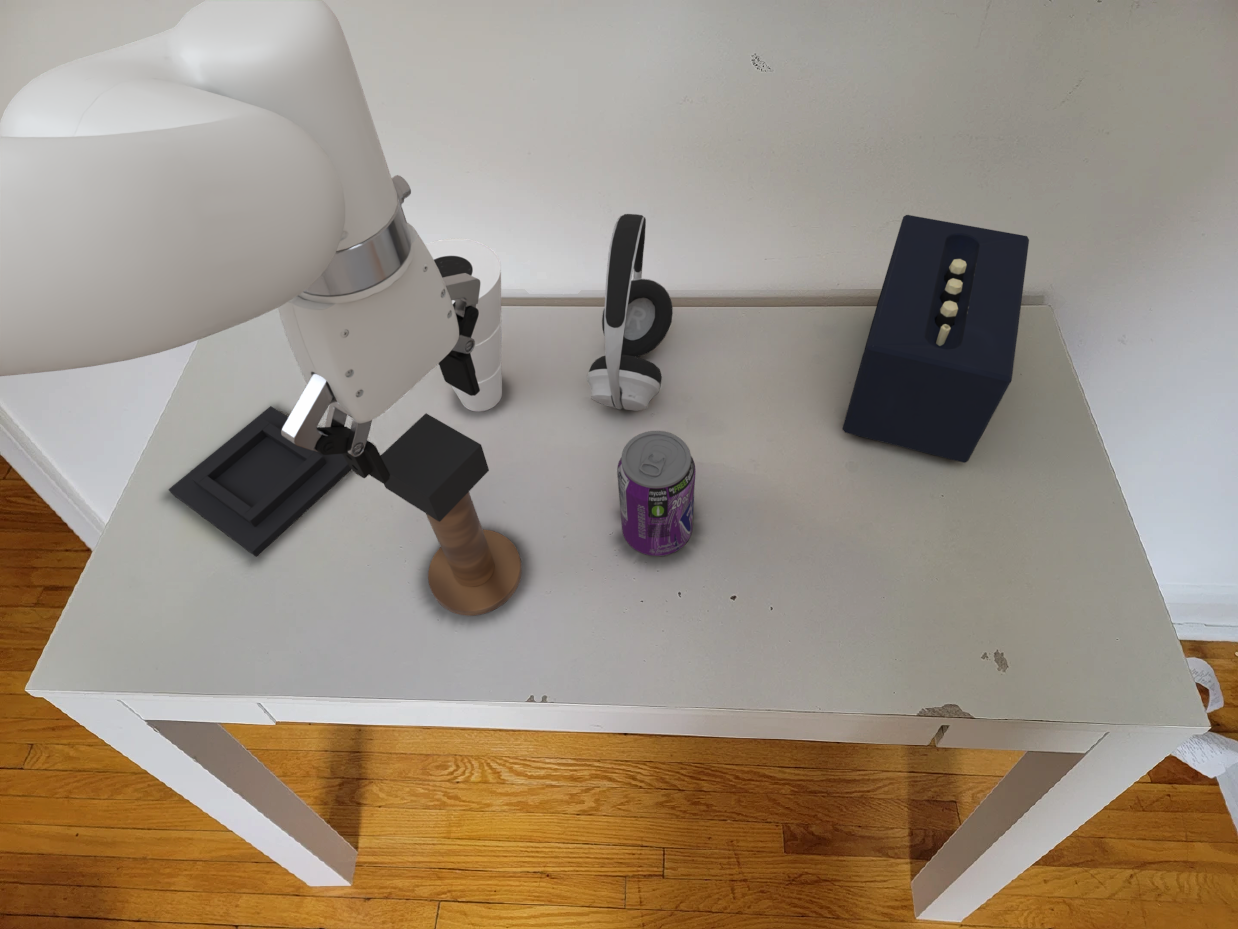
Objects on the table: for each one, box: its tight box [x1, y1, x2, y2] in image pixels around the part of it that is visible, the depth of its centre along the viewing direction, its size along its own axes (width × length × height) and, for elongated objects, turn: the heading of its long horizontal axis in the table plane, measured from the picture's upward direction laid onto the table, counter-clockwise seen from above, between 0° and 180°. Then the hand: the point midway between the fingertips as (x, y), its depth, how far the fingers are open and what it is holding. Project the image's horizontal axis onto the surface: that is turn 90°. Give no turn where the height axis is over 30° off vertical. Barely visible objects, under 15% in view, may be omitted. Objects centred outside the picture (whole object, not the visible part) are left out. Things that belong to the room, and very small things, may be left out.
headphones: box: [586, 213, 674, 411], centre depth 82 cm, size 19×8×20 cm, turn 172°
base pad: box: [168, 406, 352, 557], centre depth 82 cm, size 14×14×2 cm
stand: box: [425, 491, 523, 617], centre depth 69 cm, size 9×9×16 cm
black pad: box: [380, 413, 490, 522], centre depth 61 cm, size 6×6×4 cm
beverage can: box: [616, 430, 696, 557], centre depth 72 cm, size 7×7×12 cm
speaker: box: [842, 214, 1030, 464], centre depth 81 cm, size 22×13×15 cm, turn 159°
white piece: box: [424, 237, 503, 412], centre depth 82 cm, size 11×11×18 cm
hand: (419, 428), depth 57 cm, fingers open, 9 cm apart
